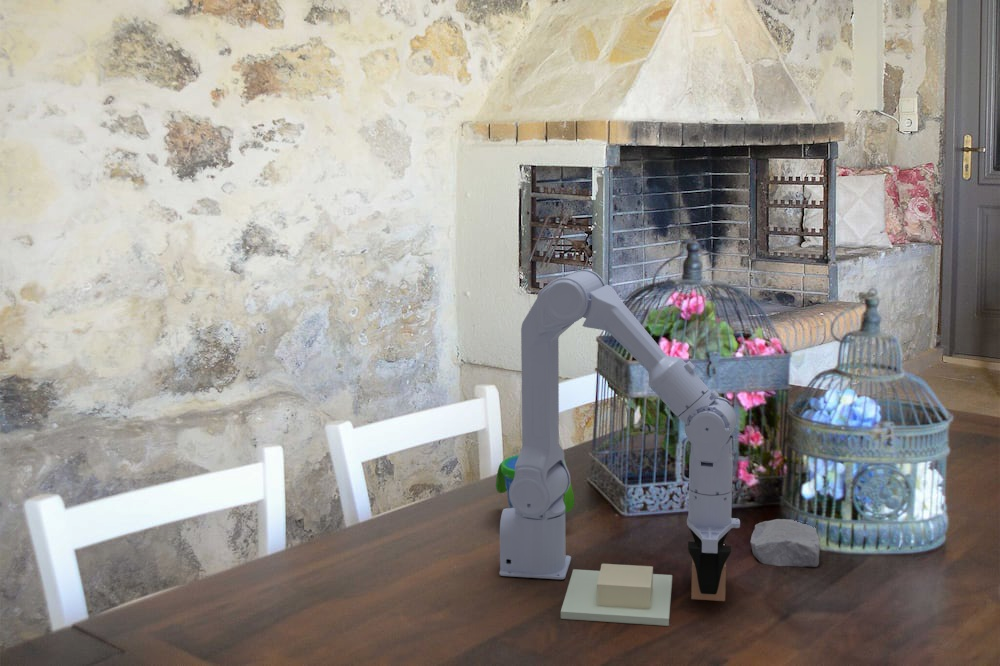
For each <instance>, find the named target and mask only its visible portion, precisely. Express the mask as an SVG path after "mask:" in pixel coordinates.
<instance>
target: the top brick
mask: <svg viewBox="0 0 1000 666" xmlns="http://www.w3.org/2000/svg"><path fill="white" fill-rule="evenodd" d="M726 577H727V561H726V562H725V564H724V566H723V569H722V573H721V577H720V582H719V587H718V590H717V593H716V594H701V592H700V589H699V584H698V578H697V571H696V567H695V564H694V561H693V559H692V558H691V597H690V598H691V600H699V601H700V600H701V601H717V602H726V584H727V583H726V581H727V579H726Z"/></svg>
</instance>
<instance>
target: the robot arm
mask: <svg viewBox="0 0 1000 666" xmlns="http://www.w3.org/2000/svg"><path fill="white" fill-rule="evenodd" d="M582 318H584V319H585V320H584V322H583V324H582V327H584V328H589V329H594V330H601V331H606V332H607V333H609V334H610V336H612V337H613V338H614V339H615V341H617V343H618V344H620V345H621V346H622V347H623V348H624V349H625V350H626V351H627V352H628V353H629V354H630V355H631V356H632V358H634V359H635V360H636V361H637V362H638V363H639V364H640V366H642V367H643V369H644V370H645V371H647V373H648V374H647V375H648V386H649V388H650V389H651V390H652V391H653V392H654V393H655V394H656V396H657V397H658V398H659V399H660V400H661V401H662V402H663V403H664V404H665V405H666V406H667V408H669V410H670V411H671V412H672V413H673V414H674V415H675V417H677V419H678V421H681V422H683V423H684V424H685V425H686V426H684V432H685V435H686V437H687V440H688V441H689V442H690V454H689V465H688V467H689V468H688V469H689V471H688V473H689V475H688V516H687V518H686V524H687V527H688V529H689V530H690V533H691V535H692V537H693V540H694V541H687V550H688V552H689V553H688V554H689V555H690V557H691V560H692V559H693V561H694V564H695V567H696V571H697V578H698V584H699V589H700V592H701V594H716V593H717V590H718V587H719V582H720V577H721V573H722V569H723V566H724V564H725V562H726V563H727V560H728V558H729V557H730V555H731V553H732V546H730V545H723V544H724V542H725V539H726V537H727V536H728V533H729V532H730V531H731V529H740V528H741V520H740V519H739V518H738V517H737V518H735V517H732V504H733V503H732V498H733V468H734V467H733V464H734V463H733V460H734V459H733V458H734V455H733V438H732V436H731V435H732V433H733V432H734V430H736V425H737V422H738V417H737V416H738V415H737V412H736V410H735V408H734V407H733V405H732V403H731V401H730V400H728V399H727V398H724V397H721V396H720V394H719V393H718V392H717V390H715V389H714V390H713V391H712V390H711V389H710V388H709V387H708V386H707V385H706V384H705V382H704V381H702V379H701V378H700V377H699V376H698V375H697V374H696V373H695V371H694V370H695V369H696V366H695V365H694V363H692V362H691V360H689V361H687V362H685V361H684V359H682V357H680V356H671V355H667V354H666V353H665V352H664V350H663V349H662V348H661V347H660V346H659V344H658V343H657V342H656V340H654V338H653V337H652V336H651V335H650V334H649V332H648V331H647V330H646V329H645V328H644V326H643V324H641V322H640V321H639V320H638V319H637V318H636V316H635V315H634V314H633V313H632V312H631V310H630V309H629V308H628V307H627V305H626V304H625V303H624V302H623V300H622V299H621V298H620V296H619V295H618V293H617V291H616V290H615V289H614V288H613V287H611V285H609V284H606V283H605V281H604V279H603V278H602V277H601V276H600V274H598V273H597V272H595V271H593V270H591V269H584V268H583V269H579V270H576V271H574V272H572V273H570V274H568V275H565V276H563V277H558V278H555V279H554V280H552V281H551V282H549V283H548V284H546V285H545V286H544V287H542V289H540V290H539V291H538V293H537V295H536V299H535V301H534V302H533V304H532V306H531V307H530V309H529V311H528V313H527V314H526V316H525V317H524V319H523V321H522V324H521V326H520V327H521V328H520V334H521V335H520V339H521V340H520V344H521V345H520V347H521V351H520V352H521V353H520V356H521V357H520V358H521V432H522V433H521V439H522V440H521V443H522V444H521V449H520V452H519V454H518V455H519V457H518V459H517V462H516V465H515V476H514V480H513V481H512V483H511V485H510V488H509V498H510V501H511V504H512V506H513V507H514V508H510V507H507V508H503V510H502V512H501V516H500V522H499V566H500V567H499V576H502V577H515V578H516V577H517V578H533V579H546V580H548V579H550V580H564V579H566V576H567V573H568V570H569V567H570V564H571V561H572V556H571V555H566V513H565V504H564V501H563V500H564V494H565V493H566V492H567V490H568V489H569V486H570V483H571V482H572V481H571V474H570V472H569V471H570V470H569V469H568V467H567V463H566V464H565V462H566V460H565V451H564V449H563V448H562V447H561V444H560V438H559V437H560V431H559V430H560V429H559V428H560V425H559V424H560V423H559V422H560V417H559V416H560V415H559V413H560V412H559V411H560V410H559V409H560V406H559V405H560V401H559V400H560V399H559V397H560V395H559V394H560V393H559V391H560V389H559V387H560V386H559V383H560V382H559V381H560V380H559V379H560V378H559V375H560V371H559V370H560V369H559V362H560V361H559V356H560V355H559V339H560V336H561V335H562V334H564V332H566V331H567V330H568V329H569V328H570V327H572V325H574V324H575V323H576V322H578V321H579V320H580V319H582Z"/></svg>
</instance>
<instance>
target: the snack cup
mask: <svg viewBox="0 0 1000 666" xmlns="http://www.w3.org/2000/svg"><path fill="white" fill-rule="evenodd" d="M518 457H519V454H516V455H512V456H509V457H506V458H505V459H503V460H502V461H501V462H500V464H499V465H498V469H497V474H496V477H495V478H496V479H495V489H496V491H497V492H498V493H499V494H503V493H505V492H506V495H507V501H508V508H514V507H513V506H512V504H511V501H510V498H509V488H510V485H511V483H512V481H513V480H514V476H515V465H516V462H517V459H518ZM565 464H566V465H567V462H566V461H565ZM563 501H564V504H565V514H567V513H569V512H570V511H572V509H574V506H575V495H574V491H573V487H572V483H571V482H570V486H569V489H568V490H567V492H566V493H565V494H564V495H563Z"/></svg>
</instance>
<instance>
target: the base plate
mask: <svg viewBox="0 0 1000 666" xmlns="http://www.w3.org/2000/svg"><path fill="white" fill-rule="evenodd" d="M672 588H673V575H672V574H661V573H660V574H659V573H654V566H650V565H632V564H616V563H615V564H613V563H601V565H600V569H599V570H592V569H591V570H590V569H575V568H573V569H572V573H571V576H570V579H569V582H568V585H567V588H566V589H567V590H566V593H565V595H564V600H563V603H562V606H561V610H560V620H561V619H563V620H574V621H576V620H577V621H588V622H589V621H590V622H602V623H603V622H606V623H607V622H608V623H620V624H635V625H647V626H648V625H650V626H665V627H666V626H667V627H669V626H670V616H671V615H670V613H671V603H672V602H671V601H672Z"/></svg>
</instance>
